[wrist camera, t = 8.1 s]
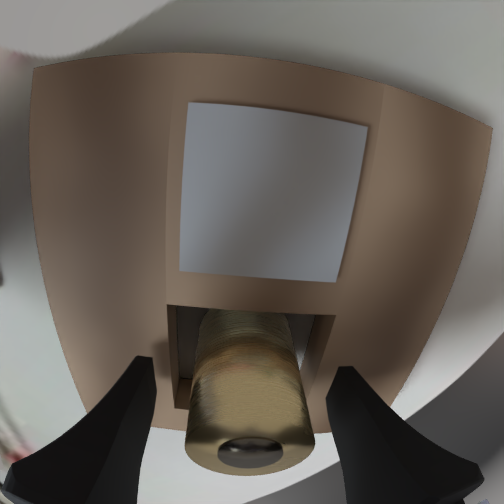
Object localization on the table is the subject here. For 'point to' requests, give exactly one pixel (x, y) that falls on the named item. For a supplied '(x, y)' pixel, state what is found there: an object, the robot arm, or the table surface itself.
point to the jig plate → (245, 212)
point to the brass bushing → (247, 396)
